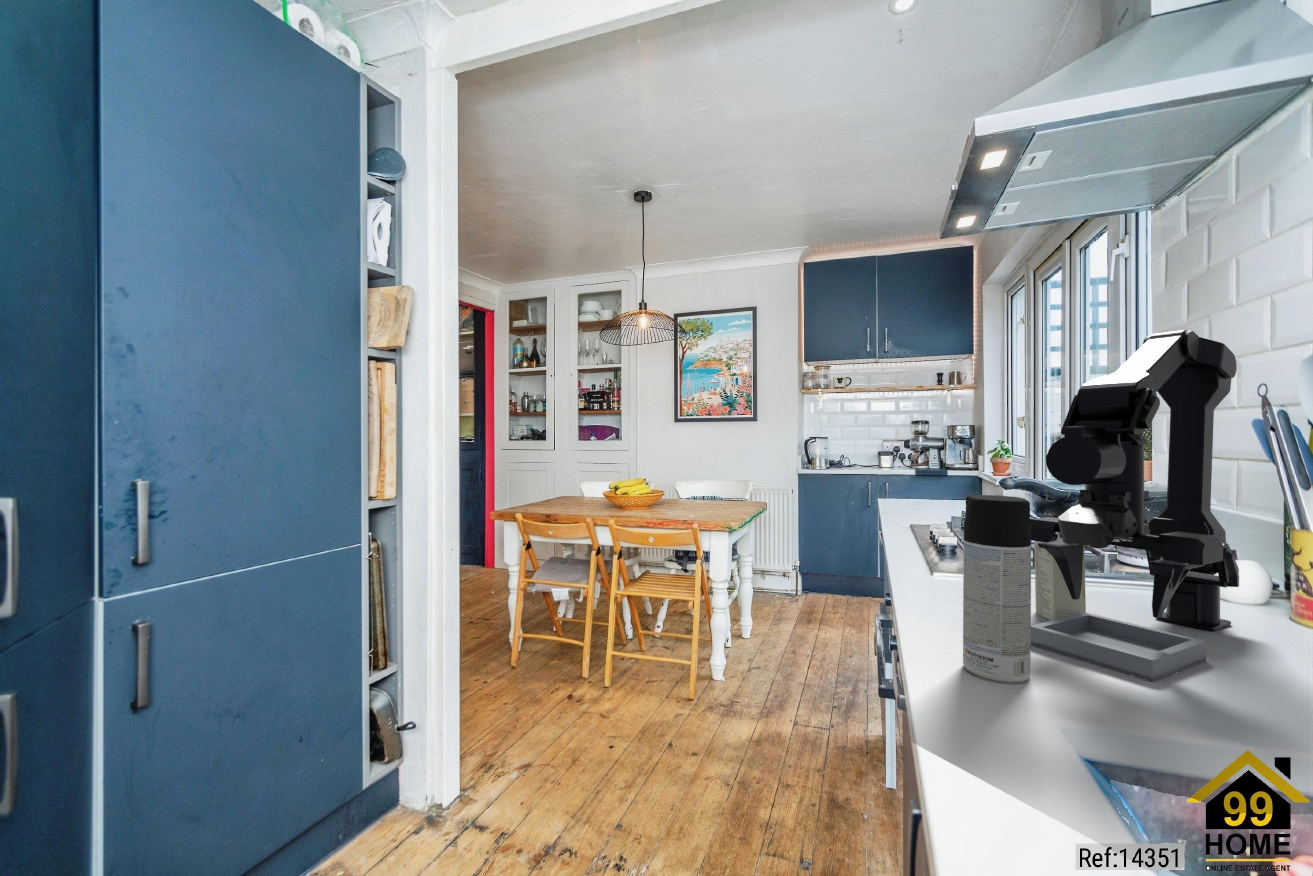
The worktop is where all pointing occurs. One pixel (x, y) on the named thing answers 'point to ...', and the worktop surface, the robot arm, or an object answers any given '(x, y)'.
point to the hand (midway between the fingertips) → (1114, 607)
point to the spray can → (997, 588)
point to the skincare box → (1055, 588)
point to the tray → (1119, 645)
